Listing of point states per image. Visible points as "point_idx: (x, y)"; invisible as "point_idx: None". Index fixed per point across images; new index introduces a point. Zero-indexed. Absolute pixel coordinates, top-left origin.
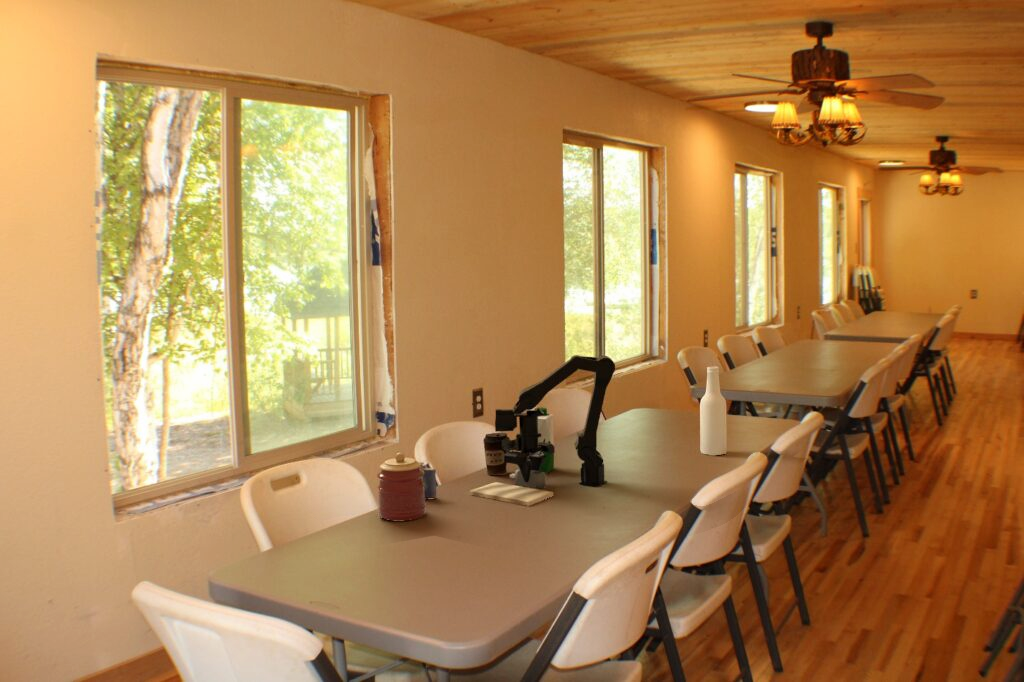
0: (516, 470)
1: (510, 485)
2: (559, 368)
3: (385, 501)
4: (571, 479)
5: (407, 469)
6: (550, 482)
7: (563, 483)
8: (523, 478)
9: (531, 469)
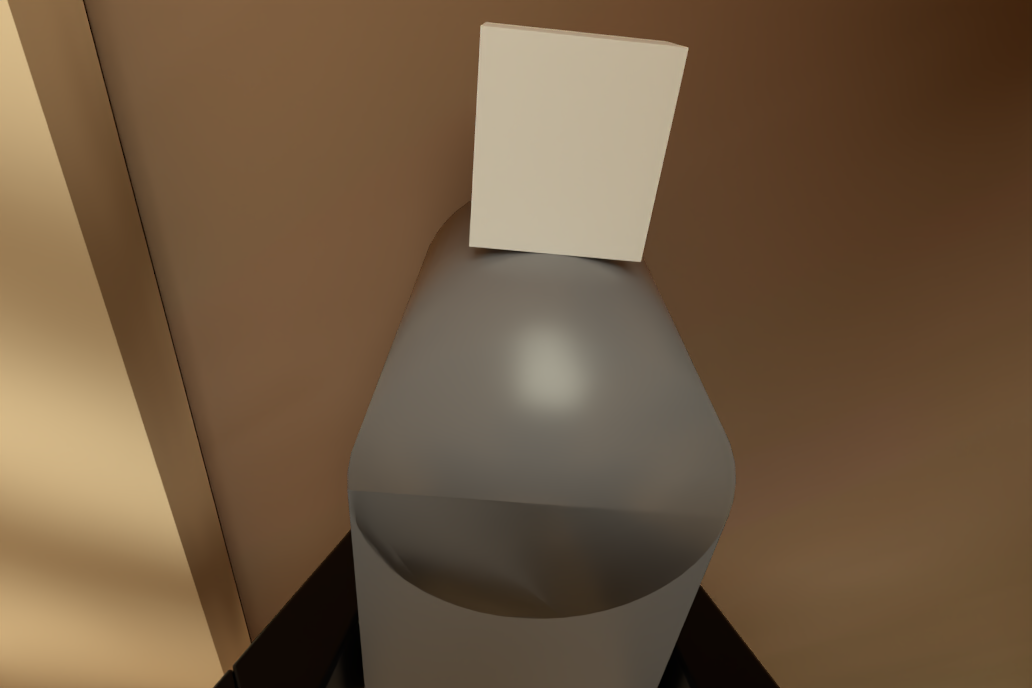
0: (416, 425)
1: (72, 359)
2: None
3: None
4: (979, 676)
5: None
6: (783, 576)
7: (773, 678)
8: (344, 538)
9: (680, 677)
